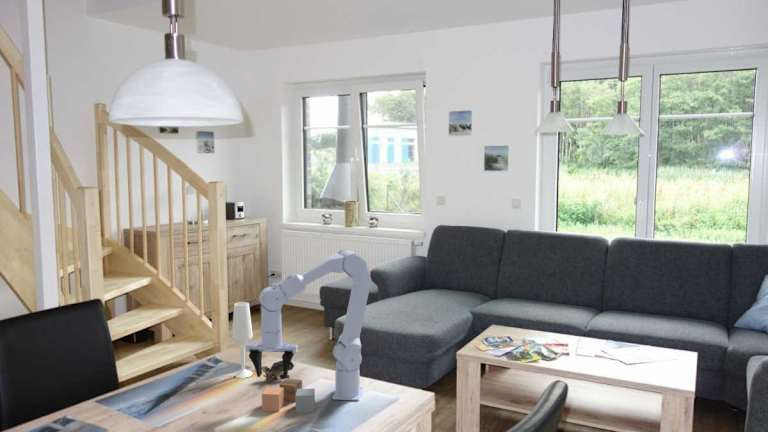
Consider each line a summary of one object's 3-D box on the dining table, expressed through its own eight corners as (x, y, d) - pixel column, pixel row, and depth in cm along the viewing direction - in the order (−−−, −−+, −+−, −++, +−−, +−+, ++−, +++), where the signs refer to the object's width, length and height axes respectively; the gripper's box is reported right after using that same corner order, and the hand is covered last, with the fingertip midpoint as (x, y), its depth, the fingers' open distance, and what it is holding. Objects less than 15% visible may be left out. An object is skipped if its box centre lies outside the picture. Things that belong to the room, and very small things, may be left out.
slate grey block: (297, 405, 173) (297, 388, 172) (314, 405, 173) (314, 388, 172) (295, 412, 168) (295, 395, 167) (313, 412, 168) (313, 395, 167)
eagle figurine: (276, 384, 186) (298, 371, 192) (265, 363, 187) (287, 351, 193) (266, 390, 191) (288, 378, 197) (256, 370, 192) (277, 359, 198)
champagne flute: (229, 374, 196) (227, 303, 194) (247, 369, 201) (245, 300, 198) (239, 380, 192) (237, 307, 189) (257, 375, 196) (256, 304, 194)
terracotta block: (267, 403, 174) (266, 387, 173) (283, 404, 173) (283, 387, 173) (262, 410, 169) (261, 393, 169) (279, 411, 169) (278, 394, 168)
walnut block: (287, 393, 181) (286, 378, 180) (302, 395, 180) (302, 379, 179) (279, 400, 176) (279, 384, 176) (295, 402, 175) (295, 386, 174)
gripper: (242, 333, 166) (243, 380, 167) (292, 335, 164) (293, 382, 166) (250, 326, 173) (251, 371, 174) (299, 327, 171) (299, 373, 173)
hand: (272, 376), depth 170 cm, fingers open, 7 cm apart
